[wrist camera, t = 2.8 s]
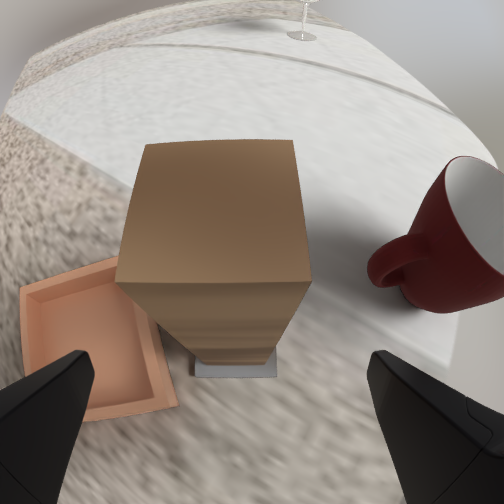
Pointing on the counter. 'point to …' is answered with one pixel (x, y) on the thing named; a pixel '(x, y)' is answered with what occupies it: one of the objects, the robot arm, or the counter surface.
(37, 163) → the counter surface
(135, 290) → the wood grain bar
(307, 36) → the wineglass
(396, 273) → the mug
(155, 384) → the dish
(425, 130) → the counter surface
